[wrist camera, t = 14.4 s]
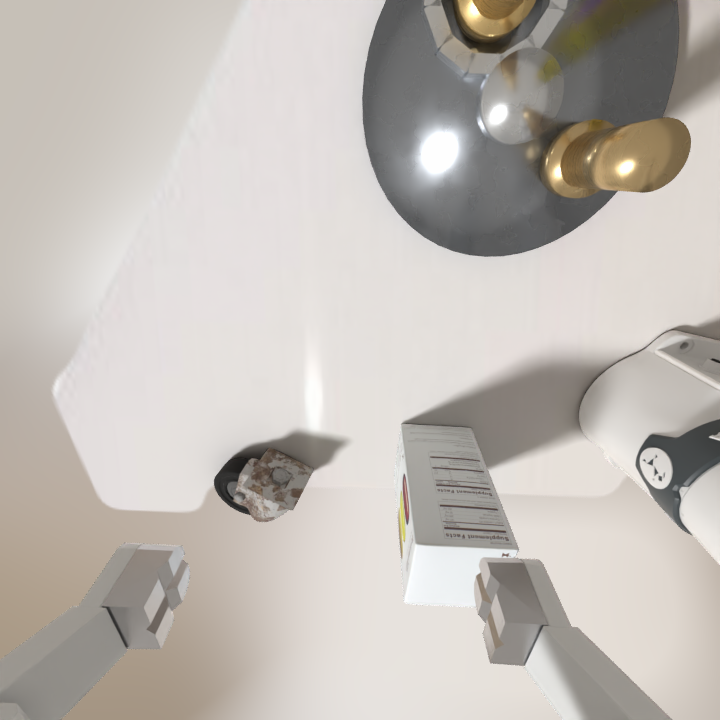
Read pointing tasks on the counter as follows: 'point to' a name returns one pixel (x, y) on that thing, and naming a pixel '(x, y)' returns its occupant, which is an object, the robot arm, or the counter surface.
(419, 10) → the carrier
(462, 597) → the supplement box
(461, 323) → the counter surface
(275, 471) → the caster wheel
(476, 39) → the brass flanged cylinder
